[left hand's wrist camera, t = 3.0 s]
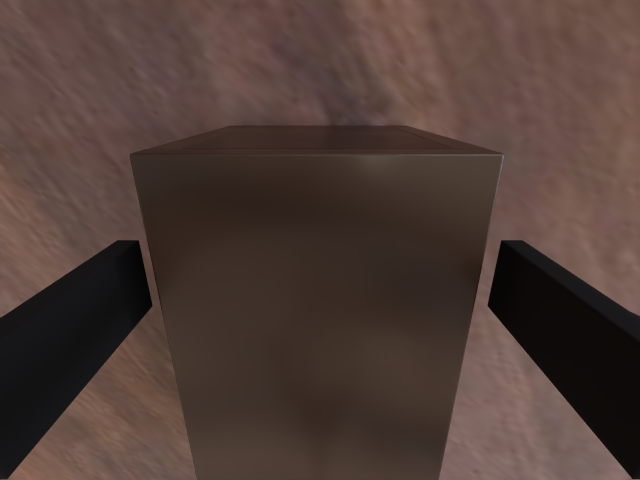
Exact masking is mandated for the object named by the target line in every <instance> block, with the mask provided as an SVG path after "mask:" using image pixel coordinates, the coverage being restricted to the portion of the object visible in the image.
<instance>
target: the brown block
mask: <svg viewBox="0 0 640 480" xmlns="http://www.w3.org/2000/svg"><path fill="white" fill-rule="evenodd" d="M503 159H504V154H502V153H499V152H496V151H492V150H489V149H486V148H482V147H479V146H475V145H472V144H468V143H465V142H461V141H458V140H454V139H451V138H447V137H444V136H440V135H437V134H433V133H430V132H426V131H423V130H419V129H416V128H412V127H409V126H228V127H225V128H221V129H217V130H214V131H210V132H207V133H203V134H200V135H196V136H192V137H189V138H185V139H182V140H178V141H175V142H171V143H167V144H164V145H160V146H157V147H153V148H150V149H146V150H142V151H139V152H135V153H132V154H130V160H131V165H132V170H133V174H134V179H135V184H136V189H137V194H138V198H139V203H140V208H141V213H142V217H143V222H144V227H145V232H146V237H147V241H148V246H149V251H150V256H151V261H152V265H153V270H154V275H155V280H156V285H157V289H158V294H159V299H160V304H161V309H162V313H163V318H164V323H165V328H166V333H167V337H168V342H169V347H170V352H171V357H172V361H173V366H174V371H175V376H176V381H177V385H178V390H179V395H180V400H181V404H182V409H183V414H184V419H185V424H186V428H187V433H188V438H189V443H190V448H191V452H192V457H193V462H194V467H195V472H196V476H197V480H439V476H440V471H441V466H442V461H443V456H444V452H445V447H446V442H447V437H448V432H449V427H450V422H451V417H452V412H453V407H454V402H455V397H456V392H457V387H458V382H459V377H460V372H461V367H462V362H463V357H464V352H465V347H466V343H467V338H468V333H469V328H470V323H471V318H472V313H473V308H474V303H475V298H476V293H477V288H478V283H479V278H480V273H481V268H482V263H483V258H484V253H485V248H486V243H487V238H488V234H489V229H490V224H491V219H492V214H493V209H494V204H495V199H496V194H497V189H498V184H499V179H500V174H501V169H502V164H503Z"/></svg>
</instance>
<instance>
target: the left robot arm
mask: <svg viewBox="0 0 640 480" xmlns="http://www.w3.org/2000/svg"><path fill="white" fill-rule="evenodd" d="M151 307H152V301H151V296H150V292H149V287H148V282H147V278H146V273H145V268H144V263H143V259H142V254H141V249H140V244H139V240H117V241H116V242H114V243H113V244H111V245H110V246H108V247H107V248H105V249H104V250H102V251H101V252H99V253H98V254H96V255H95V256H93V257H92V258H90V259H89V260H87V261H86V262H84V263H83V264H81V265H80V266H78V267H77V268H75V269H74V270H72V271H71V272H69V273H68V274H66V275H65V276H63V277H62V278H60V279H59V280H57V281H56V282H54V283H53V284H51V285H50V286H48V287H47V288H45V289H44V290H42V291H41V292H39V293H38V294H36V295H35V296H33V297H32V298H30V299H29V300H27V301H25V302H24V303H22V304H21V305H19V306H18V307H16V308H15V309H13V310H12V311H10V312H9V313H7V314H6V315H4V316H3V317H1V318H0V479H8V478H9V476H10V475H11V474H12V473H13V472H14V470H15V469H16V468H17V467H18V466H19V464H20V463H21V462H22V461H23V460H24V459H25V457H26V456H27V455H28V454H29V453H30V451H31V450H32V449H33V448H34V447H35V445H36V444H37V443H38V442H39V441H40V439H41V438H42V437H43V436H44V435H45V433H46V432H47V431H48V430H49V429H50V427H51V426H52V425H53V424H54V423H55V422H56V420H57V419H58V418H59V417H60V416H61V414H62V413H63V412H64V411H65V410H66V408H67V407H68V406H69V405H70V404H71V402H72V401H73V400H74V399H75V398H76V396H77V395H78V394H79V393H80V392H81V391H82V389H83V388H84V387H85V386H86V385H87V383H88V382H89V381H90V380H91V379H92V377H93V376H94V375H95V374H96V373H97V371H98V370H99V369H100V368H101V367H102V365H103V364H104V363H105V362H106V361H107V360H108V358H109V357H110V356H111V355H112V354H113V352H114V351H115V350H116V349H117V348H118V346H119V345H120V344H121V343H122V342H123V340H124V339H125V338H126V337H127V336H128V334H129V333H130V332H131V331H132V330H133V329H134V327H135V326H136V325H137V324H138V323H139V321H140V320H141V319H142V318H143V317H144V315H145V314H146V313H147V312H148V311H149V309H150V308H151ZM488 307H489V308H490V309H491V311H492V312H493V313H494V314H495V315H496V317H497V318H498V319H499V320H500V321H501V323H502V324H503V325H504V326H505V327H506V329H507V330H508V331H509V332H510V333H511V334H512V336H513V337H514V338H515V339H516V340H517V342H518V343H519V344H520V345H521V346H522V348H523V349H524V350H525V351H526V352H527V354H528V355H529V356H530V357H531V358H532V360H533V361H534V362H535V363H536V364H537V365H538V367H539V368H540V369H541V370H542V371H543V373H544V374H545V375H546V376H547V377H548V379H549V380H550V381H551V382H552V383H553V385H554V386H555V387H556V388H557V389H558V391H559V392H560V393H561V394H562V395H563V396H564V398H565V399H566V400H567V401H568V402H569V404H570V405H571V406H572V407H573V408H574V410H575V411H576V412H577V413H578V414H579V416H580V417H581V418H582V419H583V420H584V422H585V423H586V424H587V425H588V426H589V428H590V429H591V430H592V431H593V432H594V433H595V435H596V436H597V437H598V438H599V439H600V441H601V442H602V443H603V444H604V445H605V447H606V448H607V449H608V450H609V451H610V453H611V454H612V455H613V456H614V457H615V459H616V460H617V461H618V462H619V463H620V464H621V466H622V467H623V468H624V469H625V470H626V472H627V473H628V474H629V475H630V476H631V478H632V479H640V316H638V315H636V314H634V313H632V312H630V311H628V310H627V309H625V308H624V307H622V306H621V305H619V304H618V303H616V302H614V301H613V300H611V299H610V298H608V297H607V296H605V295H604V294H602V293H601V292H599V291H598V290H596V289H595V288H593V287H592V286H590V285H589V284H587V283H586V282H584V281H583V280H581V279H580V278H578V277H577V276H575V275H574V274H572V273H571V272H569V271H568V270H566V269H565V268H563V267H562V266H560V265H559V264H557V263H556V262H554V261H553V260H551V259H550V258H548V257H547V256H545V255H544V254H542V253H541V252H539V251H538V250H536V249H535V248H533V247H532V246H530V245H529V244H527V243H526V242H524V241H523V240H501V244H500V249H499V254H498V259H497V263H496V268H495V273H494V278H493V282H492V287H491V292H490V296H489V301H488Z"/></svg>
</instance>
